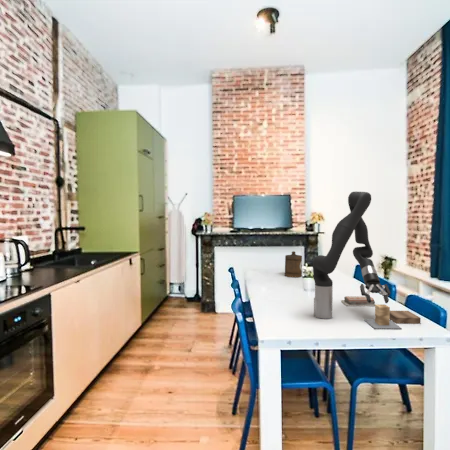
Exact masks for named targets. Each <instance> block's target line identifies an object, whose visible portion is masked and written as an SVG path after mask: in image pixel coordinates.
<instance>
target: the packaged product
mask: <svg viewBox="0 0 450 450" xmlns="http://www.w3.org/2000/svg"><path fill="white" fill-rule="evenodd" d="M370 298H371V303H369V302H368V301H367V299H366V296H348V295H347V296H344V299H341V300H340V301H341V303H342V304H343V305H344V306H345V307H375V305H376V302H375V300H374V298H373V297H372V296H370Z"/></svg>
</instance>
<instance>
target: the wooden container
mask: <svg viewBox="0 0 450 450" xmlns="http://www.w3.org/2000/svg"><path fill="white" fill-rule="evenodd" d="M284 257H285V258H284V260H285V261H284V262H285V263H284V276H285V277H287V278H301V277H302V276H303V256H302V255H299V254H296V251H294V250H293V251H291V254H286V255H285V256H284Z"/></svg>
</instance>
